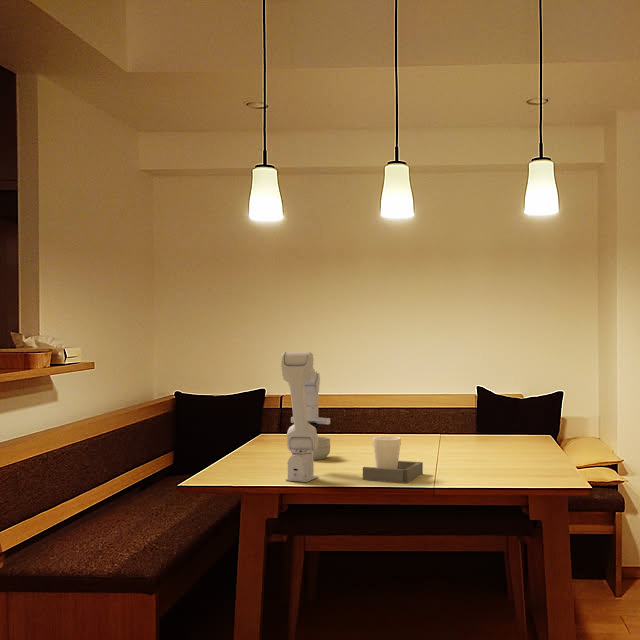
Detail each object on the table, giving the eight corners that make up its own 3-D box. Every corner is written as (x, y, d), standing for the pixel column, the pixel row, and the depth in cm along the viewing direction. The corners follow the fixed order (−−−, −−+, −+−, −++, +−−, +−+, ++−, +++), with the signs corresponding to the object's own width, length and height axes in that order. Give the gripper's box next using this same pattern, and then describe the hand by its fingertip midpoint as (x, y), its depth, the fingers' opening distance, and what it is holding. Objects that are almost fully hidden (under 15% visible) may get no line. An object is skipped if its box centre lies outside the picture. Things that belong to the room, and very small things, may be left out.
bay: (407, 482, 268) (407, 470, 268) (362, 479, 275) (362, 467, 275) (422, 473, 284) (422, 462, 284) (380, 470, 290) (380, 459, 290)
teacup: (317, 462, 309) (317, 440, 309) (296, 459, 316) (296, 438, 316) (341, 457, 319) (341, 436, 319) (320, 454, 327) (319, 434, 327)
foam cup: (386, 472, 287) (386, 435, 286) (406, 476, 280) (406, 438, 280) (367, 476, 280) (367, 437, 280) (386, 480, 273) (386, 440, 273)
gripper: (333, 404, 292) (333, 443, 292) (296, 403, 298) (296, 441, 298) (325, 406, 286) (325, 446, 286) (288, 405, 292) (288, 443, 292)
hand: (310, 443), depth 292 cm, fingers closed
